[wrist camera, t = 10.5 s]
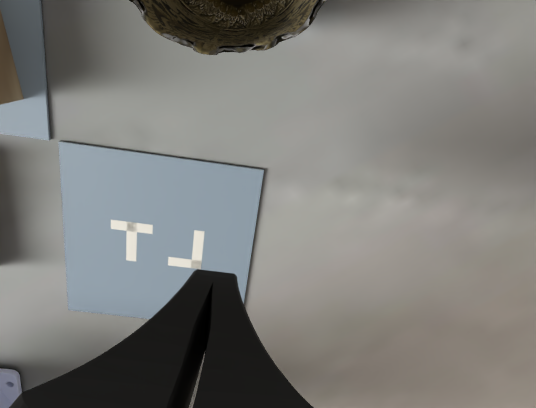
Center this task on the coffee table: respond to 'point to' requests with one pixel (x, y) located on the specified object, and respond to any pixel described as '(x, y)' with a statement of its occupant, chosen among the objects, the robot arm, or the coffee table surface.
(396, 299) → the coffee table surface
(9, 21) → the code tile
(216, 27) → the cup
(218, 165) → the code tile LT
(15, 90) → the oak block
